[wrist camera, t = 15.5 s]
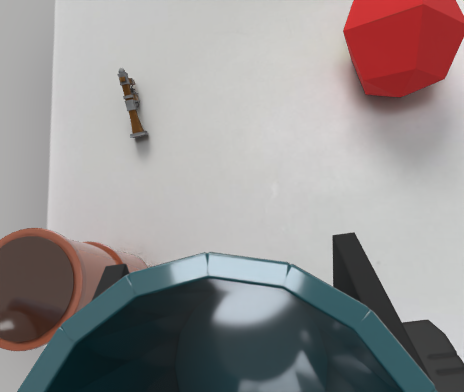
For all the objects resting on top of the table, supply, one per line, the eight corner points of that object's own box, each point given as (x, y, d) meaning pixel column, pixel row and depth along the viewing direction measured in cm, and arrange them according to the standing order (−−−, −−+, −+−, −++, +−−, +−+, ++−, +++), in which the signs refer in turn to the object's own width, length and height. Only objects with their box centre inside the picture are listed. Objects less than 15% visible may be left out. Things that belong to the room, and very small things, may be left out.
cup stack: (76, 319, 40) (-48, 340, 24) (93, 245, 42) (-12, 221, 26) (147, 331, 39) (65, 361, 23) (161, 255, 41) (94, 235, 25)
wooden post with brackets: (137, 72, 46) (126, 65, 41) (153, 134, 47) (144, 134, 42) (123, 75, 46) (110, 68, 41) (139, 137, 47) (129, 137, 43)
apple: (327, 111, 44) (327, -10, 44) (429, 111, 44) (428, -11, 44) (357, 76, 32) (357, -88, 33) (498, 76, 32) (495, -92, 32)
